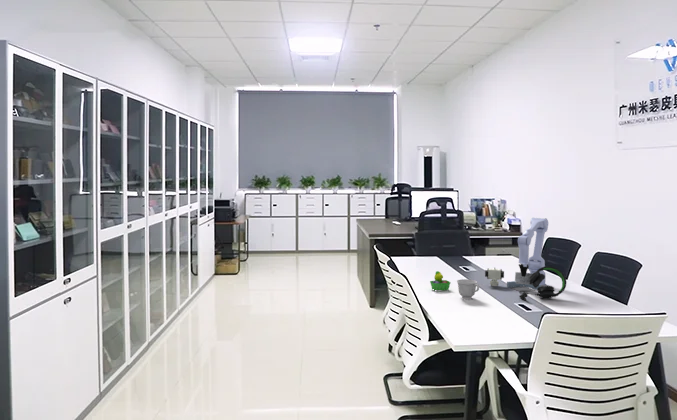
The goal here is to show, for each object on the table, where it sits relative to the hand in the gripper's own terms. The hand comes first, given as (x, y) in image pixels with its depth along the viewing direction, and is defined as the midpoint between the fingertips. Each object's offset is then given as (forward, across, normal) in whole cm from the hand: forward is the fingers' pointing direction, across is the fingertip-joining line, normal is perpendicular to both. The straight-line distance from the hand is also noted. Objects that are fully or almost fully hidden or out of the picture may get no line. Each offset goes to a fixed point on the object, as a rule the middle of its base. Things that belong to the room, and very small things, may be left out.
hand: (523, 276), depth 307 cm
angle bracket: (+4, -2, 0) cm, 5 cm away
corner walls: (+8, +2, -1) cm, 9 cm away
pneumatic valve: (+9, +7, +17) cm, 20 cm away
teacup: (+9, -31, +34) cm, 47 cm away
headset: (+9, -22, -8) cm, 25 cm away
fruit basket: (+9, -12, +51) cm, 53 cm away
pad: (+8, 0, 0) cm, 8 cm away
